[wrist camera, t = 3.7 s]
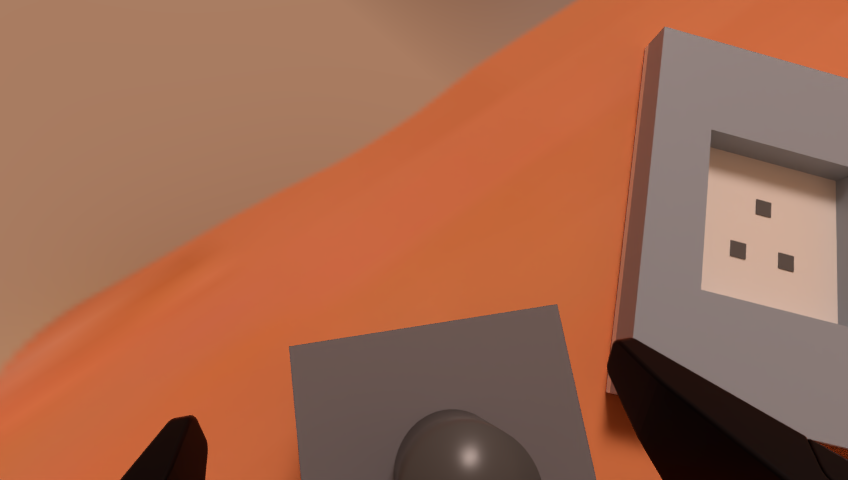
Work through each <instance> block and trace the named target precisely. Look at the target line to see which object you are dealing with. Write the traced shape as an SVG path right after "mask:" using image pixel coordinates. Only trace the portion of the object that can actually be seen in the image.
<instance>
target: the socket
mask: <svg viewBox="0 0 848 480" xmlns="http://www.w3.org/2000/svg"><path fill="white" fill-rule="evenodd" d="M629 337H631V338H635V339H637V340H639V341H640V342H642V343H644V344H646V345H647V346H649V347H651V348H653V349H654V350H656V351H658V352H660V353H661V354H663V355H665V356H666V357H668V358H670V359H672V360H673V361H675V362H677V363H679V364H680V365H682V366H684V367H686V368H687V369H689V370H691V371H693V372H694V373H696V374H698V375H700V376H701V377H703V378H705V379H707V380H708V381H710V382H712V383H714V384H715V385H717V386H719V387H721V388H722V389H724V390H726V391H728V392H729V393H731V394H733V395H735V396H736V397H738V398H740V399H742V400H743V401H745V402H747V403H749V404H750V405H752V406H754V407H756V408H757V409H759V410H761V411H763V412H764V413H766V414H768V415H770V416H771V417H773V418H775V419H777V420H778V421H780V422H782V423H784V424H785V425H787V426H789V427H791V428H792V429H794V430H796V431H798V432H799V433H801V434H803V435H804V436H806V437H807V439H812V440H813V441H815V442H818V443H822V444H826V445H830V446H835V447H839V448H843V449H847V450H848V79H847V78H844V77H840V76H837V75H833V74H830V73H826V72H822V71H819V70H815V69H812V68H808V67H805V66H801V65H798V64H794V63H791V62H787V61H784V60H780V59H777V58H773V57H770V56H766V55H763V54H759V53H756V52H752V51H749V50H745V49H742V48H738V47H735V46H731V45H728V44H724V43H720V42H717V41H713V40H710V39H706V38H703V37H699V36H696V35H692V34H689V33H685V32H682V31H678V30H675V29H671V28H668V27H664V28H663V29H662V30H661V31H660V32H659V34H658V35H657V36H656V37H655V38H654V39H653V40H652V41H651V42H650V44H649V45H648V46H647V47H646V48H645V54H644V62H643V71H642V80H641V89H640V97H639V106H638V115H637V124H636V132H635V141H634V150H633V159H632V167H631V176H630V185H629V194H628V202H627V211H626V220H625V229H624V237H623V246H622V255H621V264H620V273H619V281H618V290H617V299H616V308H615V316H614V325H613V334H612V343H611V348H612V344H613V342H614V341H615V340H617V339H623V338H629ZM610 352H611V351H610ZM606 392H607V393H611V394H616V395H618V394H617V392H616V390H615V388H614V386H613V383H612V381H611V379H610V377H609V374H608V378H607V386H606Z"/></svg>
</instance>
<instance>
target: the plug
mask: <svg viewBox="0 0 848 480" xmlns="http://www.w3.org/2000/svg"><path fill="white" fill-rule="evenodd" d="M289 351H290V362H291V373H292V384H293V395H294V406H295V417H296V428H297V439H298V450H299V461H300V472H301V480H596V476H595V472H594V467H593V463H592V458H591V454H590V449H589V445H588V440H587V436H586V431H585V427H584V422H583V418H582V413H581V409H580V405H579V400H578V396H577V391H576V387H575V382H574V378H573V373H572V369H571V364H570V360H569V355H568V351H567V346H566V342H565V337H564V333H563V329H562V324H561V320H560V315H559V311H558V306H557V304H556V305H549V306H543V307H537V308H530V309H524V310H518V311H511V312H505V313H499V314H492V315H486V316H480V317H473V318H467V319H461V320H454V321H448V322H442V323H435V324H429V325H423V326H416V327H410V328H404V329H397V330H391V331H385V332H378V333H372V334H365V335H359V336H353V337H346V338H340V339H334V340H327V341H321V342H315V343H308V344H302V345H296V346H289Z"/></svg>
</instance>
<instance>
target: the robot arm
mask: <svg viewBox="0 0 848 480" xmlns="http://www.w3.org/2000/svg"><path fill="white" fill-rule="evenodd" d="M607 370H608V374H609V377H610V379H611V381H612V383H613V386H614V388H615V390H616V392H617V394H618V396H619V398H620V401H621V403H622V405H623V407H624V409H625V411H626V414H627V416H628V418H629V420H630V422H631V424H632V427H633V429H634V431H635V433H636V435H637V437H638V439H639V440H640V442H641V444H642V446H643V447H644V449H645V451H646V453H647V454H648V456H649V458H650V459H651V461H652V463H653V464H654V466H655V468H656V470H657V471H658V473H659V475H660V476H661V478H662V480H848V460H847V459H845V458H844V457H842V456H840V455H838V454H836V453H835V452H833V451H831V450H829V449H827V448H826V447H824V446H822V445H820V444H819V443H817V442H815V441H813V440H812V439H807V437H806V436H804V435H803V434H801V433H799V432H798V431H796V430H794V429H792V428H791V427H789V426H787V425H785V424H784V423H782V422H780V421H778V420H777V419H775V418H773V417H771V416H770V415H768V414H766V413H764V412H763V411H761V410H759V409H757V408H756V407H754V406H752V405H750V404H749V403H747V402H745V401H743V400H742V399H740V398H738V397H736V396H735V395H733V394H731V393H729V392H728V391H726V390H724V389H722V388H721V387H719V386H717V385H715V384H714V383H712V382H710V381H708V380H707V379H705V378H703V377H701V376H700V375H698V374H696V373H694V372H693V371H691V370H689V369H687V368H686V367H684V366H682V365H680V364H679V363H677V362H675V361H673V360H672V359H670V358H668V357H666V356H665V355H663V354H661V353H660V352H658V351H656V350H654V349H653V348H651V347H649V346H647V345H646V344H644V343H642V342H640V341H639V340H637V339H635V338H631V337H629V338H623V339H617V340H615V341H614V342H613V344H612V348H611V352H610V356H609V360H608V363H607ZM207 454H208V446H207V440H206V438H205V436H204V434H203V431H202V429H201V427H200V425H199V423H198V421H197V419H196V417H194V416H193V415H189V416H183V417H178V418H174V419H172V420H170V421H169V422H168V423H167V424H166V425H165V426H164V428H163V429H162V430H161V431H160V433H159V434H158V435H157V436H156V437H155V439H154V440H153V441H152V442H151V443H150V445H149V446H148V447H147V448H146V449H145V451H144V452H143V453H142V454H141V455H140V457H139V458H138V459H137V460H136V461H135V463H134V464H133V465H132V466H131V467H130V469H129V470H128V471H127V472H126V473H125V475H124V476H123V477H122V478H121V479H120V480H205V475H206V464H207Z"/></svg>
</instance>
